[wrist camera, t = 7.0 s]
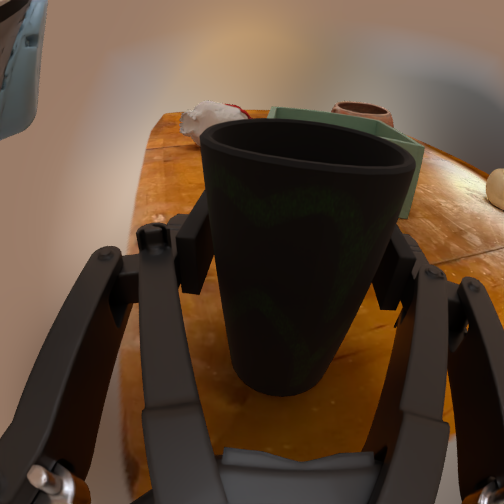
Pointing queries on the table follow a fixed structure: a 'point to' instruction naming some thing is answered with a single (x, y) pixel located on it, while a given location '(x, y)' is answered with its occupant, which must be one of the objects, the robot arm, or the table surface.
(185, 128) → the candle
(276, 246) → the cup
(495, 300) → the table surface
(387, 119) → the bowl
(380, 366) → the table surface
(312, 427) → the table surface
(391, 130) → the open storage box
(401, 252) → the robot arm
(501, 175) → the apple
